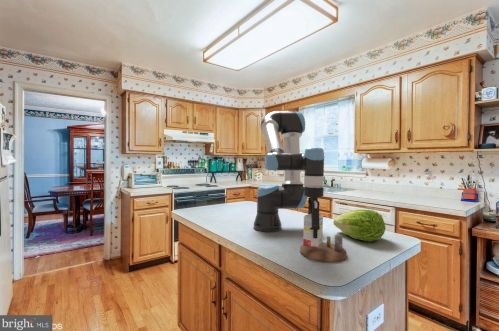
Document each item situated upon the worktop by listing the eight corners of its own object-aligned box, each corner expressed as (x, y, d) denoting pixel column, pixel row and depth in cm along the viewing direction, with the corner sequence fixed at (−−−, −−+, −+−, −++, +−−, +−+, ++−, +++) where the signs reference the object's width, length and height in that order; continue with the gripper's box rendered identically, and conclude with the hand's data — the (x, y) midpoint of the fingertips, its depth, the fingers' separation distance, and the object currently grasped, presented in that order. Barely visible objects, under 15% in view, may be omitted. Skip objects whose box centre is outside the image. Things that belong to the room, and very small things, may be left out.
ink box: (314, 248, 97) (314, 218, 97) (302, 245, 100) (302, 216, 100) (323, 242, 104) (323, 214, 104) (311, 240, 107) (312, 212, 107)
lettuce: (346, 229, 138) (341, 204, 138) (393, 236, 118) (387, 206, 118) (327, 240, 128) (322, 213, 128) (375, 249, 108) (369, 216, 108)
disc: (302, 261, 94) (302, 241, 94) (298, 244, 112) (298, 227, 112) (352, 264, 92) (352, 243, 92) (340, 246, 110) (341, 229, 110)
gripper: (328, 190, 90) (327, 252, 91) (319, 183, 112) (318, 233, 113) (307, 189, 91) (306, 251, 92) (302, 183, 113) (301, 233, 114)
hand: (313, 241), depth 102 cm, fingers closed on ink box, 9 cm apart
